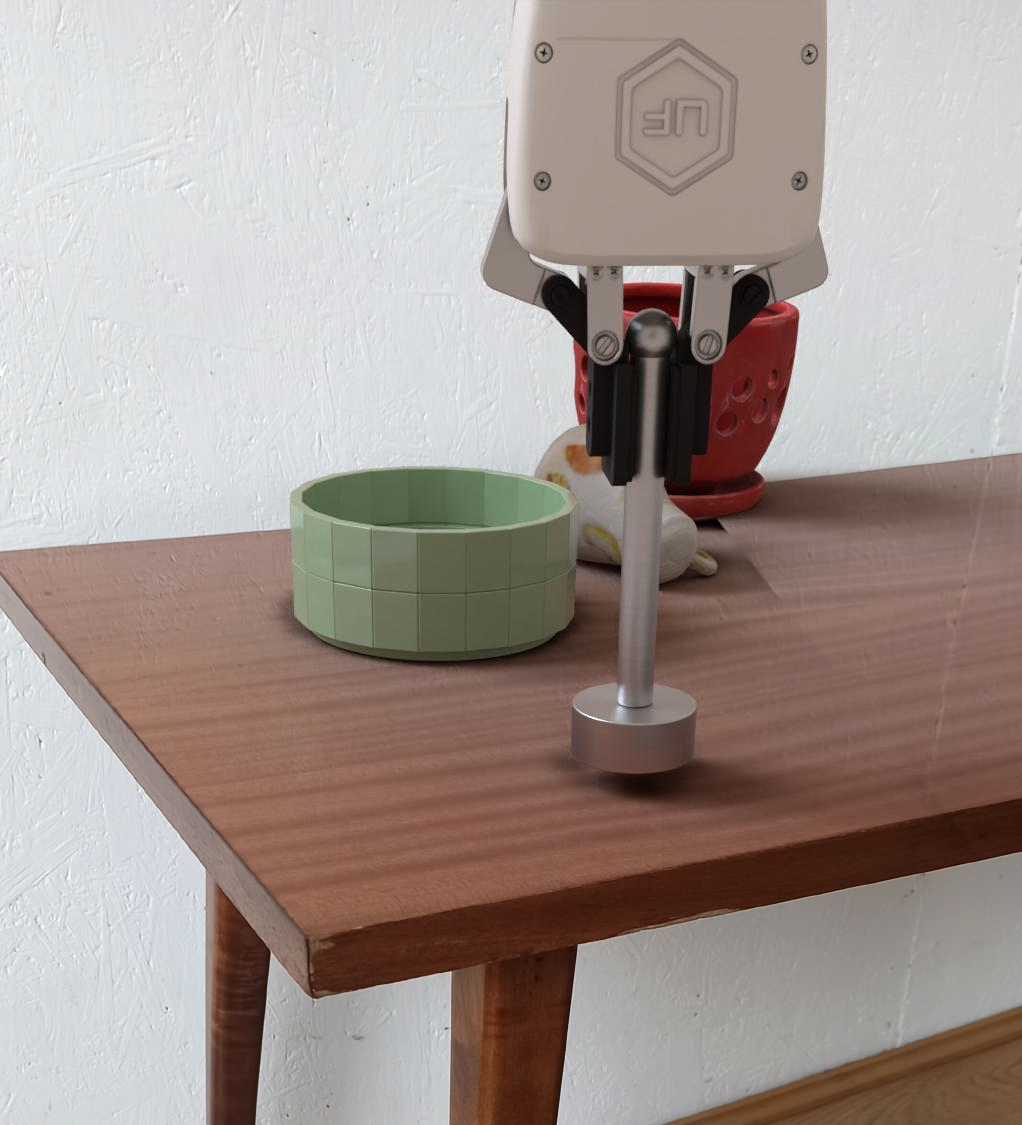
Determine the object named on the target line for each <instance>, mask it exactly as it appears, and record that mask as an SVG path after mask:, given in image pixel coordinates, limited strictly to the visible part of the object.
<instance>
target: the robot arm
mask: <svg viewBox="0 0 1022 1125" xmlns="http://www.w3.org/2000/svg"><path fill="white" fill-rule="evenodd" d="M827 2H828V0H514V4H513V12H512V19H511V25H510V26H511V27H510V34H509V35H510V37H509V51H508V62H507V63H508V64H507V81H506V93H505V94H506V95H505V96H506V98H505V112H504V113H505V115H504V134H503V135H504V136H503V137H504V138H503V139H504V140H503V164H502V165H503V166H502V168H503V173H502V174H503V176H502V179H503V181H502V182H503V193H502V194H503V195H502V197H501V201H500V203H499V207H498V210H497V212H496V216H495V219H494V222H493V224H492V228H491V231H490V234H489V237H488V241H487V243H486V246H485V248H484V249H485V250H484V253H483V256H482V258H481V261H480V265H479V272H480V276H481V278H482V280H483V282H484V283H485V285H486V286H487V287H488V288H490V289H491V290H494V291H496V292H498V293H501V294H504V295H507V296H509V297H511V298H514V299H516V300H518V301H522V302H524V303H526V304H529V305H531V306H535V307H537V308H540V309H542V310H545V311H547V312H549V314H551V316H553V317H554V319H555V320H556V321H557V322H558V323H559V324H560V325H561V326H562V327H563V329H564V330H565V331H566V332H567V333H568V334H569V336H571V337H572V339H573V338H574V339H575V341H576V342H577V343H578V344H579V345H580V346H581V347H582V348H583V349H584V351H585V352H586V353H587V354H588V375H587V410H586V450H587V454H588V456H589V457H601V466H602V471H603V472H604V474H605V476H606V478H607V479H608V481H609V483H610V484H611V486H626V485H627V482H632V479H633V460H634V436H635V412H636V389H637V370H636V368H635V366H634V365H633V364H632V363H630V361H629V344H628V343H627V342H626V341H625V340H624V339H623V283H624V267H683V271H682V283H681V284H682V292H681V303H680V314H679V325H678V331H677V342H676V346H675V349H674V351H673V352H672V354H671V355H670V371H669V391H668V411H667V431H666V450H665V470H664V475H665V477H666V478H667V479H668V481H672V483H673V484H674V485H689V484H690V480H691V466H692V455H705V454H706V452H707V448H708V437H709V421H710V405H711V389H712V374H713V363H715V362H717V361H718V360H719V359H720V358H721V357H722V356H723V354H724V352H725V349H726V347H727V345H728V344H729V343H730V342H731V341H732V340H733V339H734V338H735V337H736V336H737V335H738V334H739V333H740V332H741V331H742V330H743V329H744V328H745V327H746V326H747V325H748V324H749V323H750V322H751V321H752V320H753V319H754V318H755V317H756V316H757V315H758V314H759V313H760V312H761V311H762V310H763V309H764V307H767V306H769V305H772V304H775V303H779V302H782V301H787V300H789V299H792V298H795V297H797V296H800V295H802V294H805V293H808V292H810V291H812V290H814V289H817V288H819V287H821V286H822V285H824V283H825V282H826V280H827V279H828V275H829V265H828V260H827V256H826V252H825V251H826V250H825V248H824V244H823V243H824V242H823V239H822V234H821V231H820V225H819V224H820V217H821V212H822V202H823V190H824V178H825V176H824V174H825V157H826V156H825V155H826V123H827V122H826V121H827V120H826V119H827V117H826V116H827V84H828V83H827V80H828V6H827V5H828V4H827ZM531 255H532V256H534V257H535V258H537V259H540V260H542V261H544V262H547V263H552V264H556V265H563V266H576V275H577V276H576V277H577V279H576V280H577V283H575V282H574V281H573V280H572V279H571V277H570V276H569V275H568V274H566V273H565V272H564V271H561V270H559V269H556V268H552V267H550V266H548V265H545V264H543V263H541V262H538V261H536V260H535V259H533V258H532V257H531ZM735 266H751V267H748V268H746V269H738V270H735Z"/></svg>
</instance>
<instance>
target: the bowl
mask: <svg viewBox="0 0 1022 1125" xmlns="http://www.w3.org/2000/svg"><path fill="white" fill-rule="evenodd" d="M578 510H579V503H578V501H577V499H576V497H575V495H574V493H573V492H571V491H569V490H567V489H565V488H563V487H562V486H560V485H558V484H556V483H553V482H550V481H546V480H542V479H539V478H535V477H533V476H531V475H527V474H522V473H515V472H510V471H509V472H508V471H502V470H495V469H488V468H478V467H476V468H475V467H463V466H462V467H461V466H451V465H449V466H446V465H444V466H441V465H440V466H439V465H437V466H436V465H431V466H430V465H427V466H426V465H410V466H409V465H406V466H405V465H403V466H390V467H375V468H374V467H373V468H363V469H356V470H349V471H343V472H337V473H332V474H327V475H324V476H321V477H317V478H313V479H311V480H307V481H305V482H303V483H302V484H300V485H299V486H297V487H296V488H294V489H293V490H291V491H290V493H289V523H290V544H291V547H290V548H291V570H292V593H293V595H292V596H293V613H294V614H293V616H294V618H295V619H296V620H298V622H300V623H301V625H302V626H304V627H305V628H306V629H307V630H309V631H311V633H313V634H314V635H315V636H316V637H317V638H319V639H320V640H322V641H323V642H325V643H328V644H330V645H332V646H334V647H337V648H340V649H343V650H347V651H350V652H354V653H358V654H361V655H367V656H372V657H379V658H386V659H392V660H393V659H394V660H403V661H404V660H405V661H416V662H417V661H420V662H452V661H453V662H456V661H457V662H461V661H475V660H483V659H490V658H498V657H503V656H509V655H513V654H518V653H522V652H525V651H528V650H531V649H534V648H536V647H539V646H541V645H543V644H545V643H547V642H548V641H550V640H551V639H552V638H554V637H555V636H556V635H557V634H558V633H559V632H561V631H563V630H565V629H566V628H567V627H568V625H569V624H570V623H571V621H572V619H574V616H575V607H576V606H575V601H576V580H577V579H576V578H577V534H578Z"/></svg>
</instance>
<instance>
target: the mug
mask: <svg viewBox="0 0 1022 1125" xmlns="http://www.w3.org/2000/svg"><path fill="white" fill-rule="evenodd" d="M532 477H535V478H539V479H542V480H546V481H550V482H553V483H556V484H558V485H560V486H562V487H563V488H565V489H567V490H569V491H571V492H573V493H574V495H575V497H576V499H577V501H578V503H579V510H578V534H577V558H576V560H581V561H584V562H585V561H586V562H590V563H599V564H606V565H614V566H620V567H622V544H623V519H624V494H625V486H611V484H610V483H609V481H608V479H607V478H606V476H605V474H604V472H603V471H602V466H601V457H589V456H588V454H587V450H586V424H581V425H579V424H577V425H575V426H572V427H569V428H568V429H566V430H565V431H564V432H562V433H561V434H559V435H558V436H557V437H556V438H555V439H554V440H553V441H552V442H551V443H550V444H549V446H548V448H547V449H546V450H545V453H544V454H543V455H542V457H541V459H540V460H539V462H538V465H537V466H536V468H535V471H534V473H533V476H532ZM698 544H699V532H698V529H697V525H696V522H694V521H693V520H692V519H691V518H690V517H689V516H688V515H686V514H685V513H684V512H683V511H681V510H680V509H679V508H678V507H677V506H676V505H675V504H674V503H673V502H672V501H671V500H670V498H669V497H668V494H667V492H666V490H665V487H664V491H663V511H662V531H661V550H660V570H659V585H662V584H666V583H668V582H671V581H673V580H675V579H677V578H679V577H680V576H681V575H682V574H683V573H684V572H685V571H686V570H687V569H688V568H689V570H693V571H695V572H697V573H699V575H702V576H712V575H715V574H716V572H717V570H718V563H717V561H716V560H715V558H714V557H713V556H711V555H709V554H708V553H707V552H705V551H703V550H701V549H700V548H698Z"/></svg>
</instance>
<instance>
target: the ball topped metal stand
mask: <svg viewBox="0 0 1022 1125" xmlns="http://www.w3.org/2000/svg"><path fill="white" fill-rule="evenodd" d="M625 341H626V342H627V343H628V344H629V354H630V363H632V364H633V365H634V366H635V368H636V370H637V389H636V412H635V436H634V460H633V479H632V482H627V485H626V486H625V494H624V519H623V544H622V566H621V570H620V571H621V572H620V597H619V599H620V600H619V621H618V622H619V624H618V648H617V670H616V671H617V673H616V674H617V675H616V682H609V683H603V684H598V685H595V686H594V685H593V686H591V687H588V688H584V689H583V690H580V691H579V692H577V693H576V695H574V696H573V698H572V700H571V722H570V723H571V724H570V725H571V729H570V752H571V754H572V756H573V758H575V760H577V761H578V762H580V763H582V764H583V765H585V766H587V767H591V768H593V769H596V770H600V771H605V772H610V773H617V774H626V775H628V774H630V775H644V774H645V775H646V774H647V775H648V774H656V773H662V772H668V771H671V770H676V769H678V768H681V767H683V766H685V765H687V764H688V763H689V762H690V761H691V760H692V759H693V757H694V755H695V742H696V729H697V728H696V727H697V713H698V712H697V710H698V704H697V701H696V699H695V698H694V697H692V696H691V695H690V694H688V693H687V692H685V691H683V690H681V689H678V688H674V687H672V686H667V685H663V684H658V683H655V668H656V666H655V664H656V648H657V647H656V646H657V644H656V643H657V630H658V628H657V626H658V608H659V607H658V606H659V588H660V587H659V586H660V584H659V570H660V550H661V531H662V511H663V491H664V470H665V450H666V431H667V411H668V391H669V371H670V355H671V354H672V352H673V351H674V349H675V346H676V342H677V329H676V326H675V323H674V322H673V320H672V319H671V317H670V316H669V315H668V314H667V313H665V312H663V311H662V310H659V309H654V308H650V309H645V310H642V311H640V312H638V313H637V314H636V315H635V316H633V318H632V319H631V320H630V322H629V323H628V325H627V328H626V332H625Z"/></svg>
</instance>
